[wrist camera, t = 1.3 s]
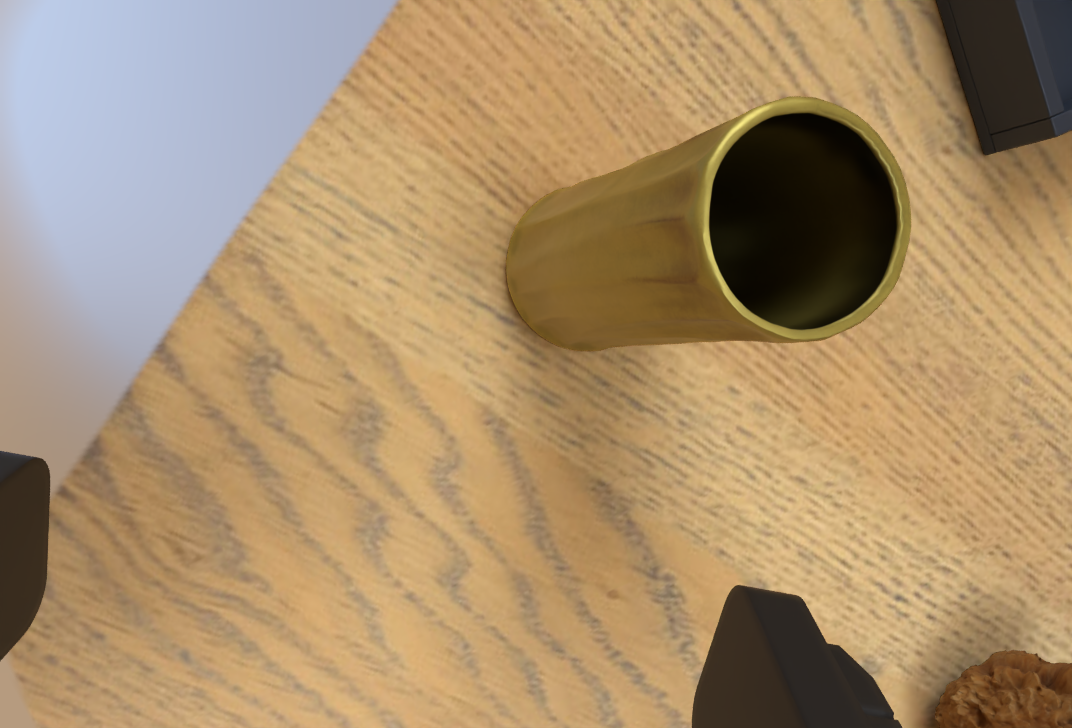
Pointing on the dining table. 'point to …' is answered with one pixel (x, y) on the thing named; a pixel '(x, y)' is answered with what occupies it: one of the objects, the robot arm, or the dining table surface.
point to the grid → (1013, 67)
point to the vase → (720, 237)
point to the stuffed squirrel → (1009, 694)
